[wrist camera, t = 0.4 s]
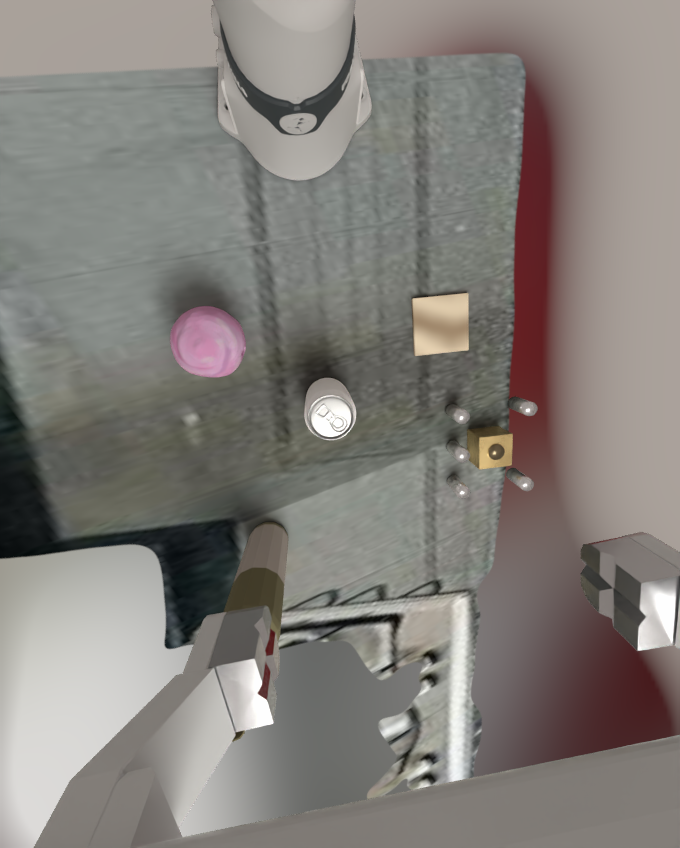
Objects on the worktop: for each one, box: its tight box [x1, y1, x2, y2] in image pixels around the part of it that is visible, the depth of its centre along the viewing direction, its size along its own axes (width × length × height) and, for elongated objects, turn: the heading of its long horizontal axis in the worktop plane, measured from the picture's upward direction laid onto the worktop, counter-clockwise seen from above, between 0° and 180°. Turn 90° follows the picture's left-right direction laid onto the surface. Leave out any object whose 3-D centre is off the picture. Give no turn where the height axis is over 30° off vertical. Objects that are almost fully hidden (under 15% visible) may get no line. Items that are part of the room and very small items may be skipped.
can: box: [304, 378, 356, 440], centre depth 49 cm, size 6×6×12 cm
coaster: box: [412, 293, 469, 356], centre depth 53 cm, size 8×8×1 cm
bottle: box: [223, 522, 288, 742], centre depth 46 cm, size 7×7×30 cm
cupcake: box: [170, 306, 246, 377], centre depth 47 cm, size 9×9×10 cm
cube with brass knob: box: [467, 426, 513, 469], centre depth 56 cm, size 5×5×5 cm
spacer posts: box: [445, 397, 537, 499], centre depth 56 cm, size 14×12×4 cm
